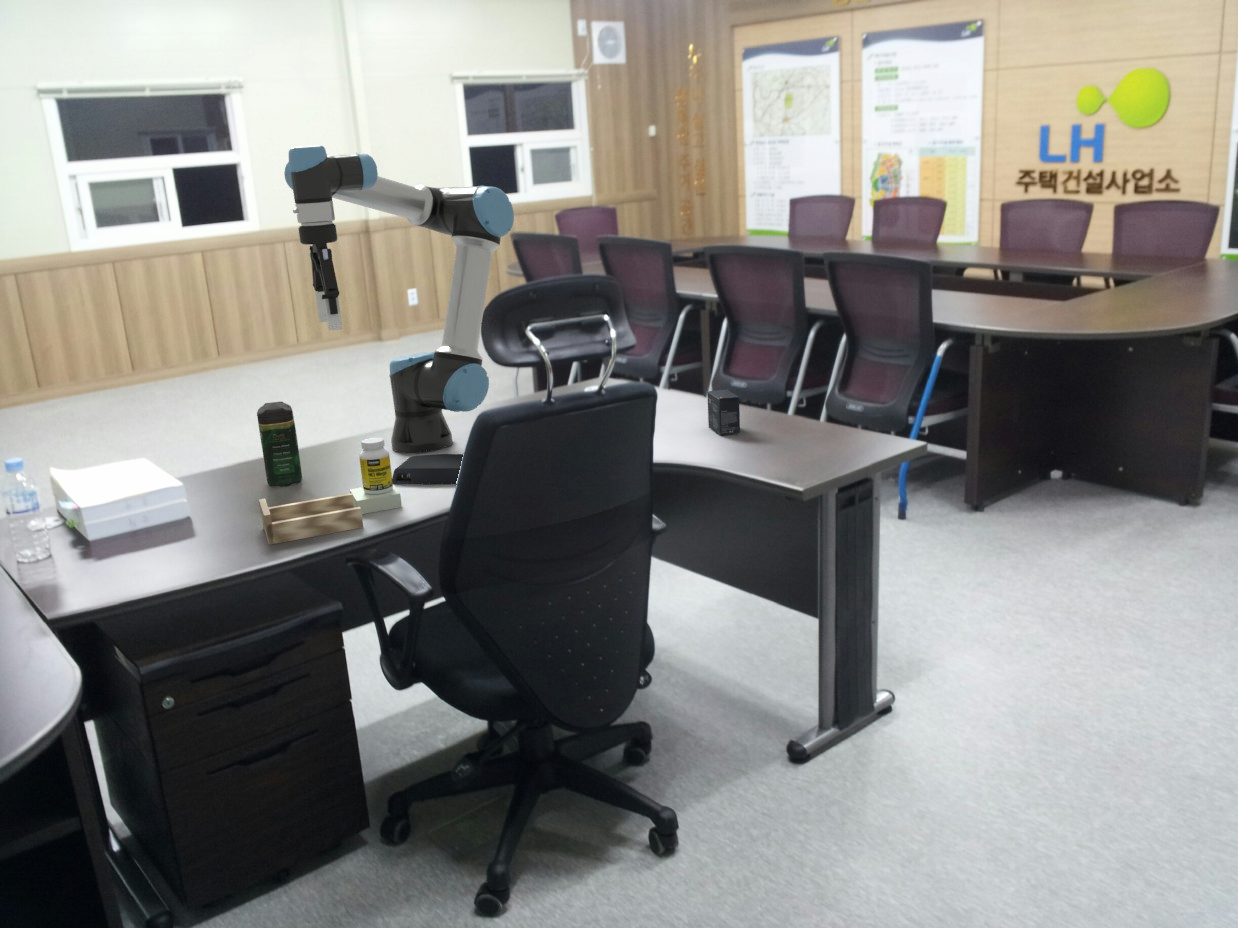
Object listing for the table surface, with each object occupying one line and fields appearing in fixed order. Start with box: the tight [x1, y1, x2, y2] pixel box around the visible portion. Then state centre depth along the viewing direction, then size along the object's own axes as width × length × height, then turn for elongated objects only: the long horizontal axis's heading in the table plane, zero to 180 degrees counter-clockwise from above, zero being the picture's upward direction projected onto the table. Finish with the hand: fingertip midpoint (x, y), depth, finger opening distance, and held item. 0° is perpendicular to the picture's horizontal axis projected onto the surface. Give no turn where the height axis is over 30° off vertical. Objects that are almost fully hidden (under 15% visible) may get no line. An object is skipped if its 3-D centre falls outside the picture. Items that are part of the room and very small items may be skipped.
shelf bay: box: [258, 492, 364, 546], centre depth 217 cm, size 18×11×6 cm, turn 113°
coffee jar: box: [256, 401, 303, 488], centre depth 247 cm, size 10×8×19 cm
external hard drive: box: [392, 453, 464, 486], centre depth 246 cm, size 13×19×4 cm
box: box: [707, 389, 741, 436], centre depth 268 cm, size 9×6×10 cm, turn 13°
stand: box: [349, 484, 403, 515], centre depth 228 cm, size 9×9×3 cm
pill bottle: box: [359, 437, 394, 494], centre depth 227 cm, size 6×6×11 cm
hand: (330, 325), depth 230 cm, fingers open, 13 cm apart
